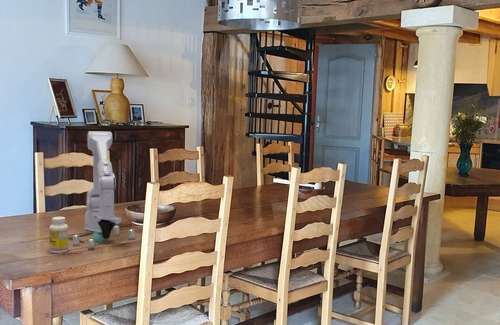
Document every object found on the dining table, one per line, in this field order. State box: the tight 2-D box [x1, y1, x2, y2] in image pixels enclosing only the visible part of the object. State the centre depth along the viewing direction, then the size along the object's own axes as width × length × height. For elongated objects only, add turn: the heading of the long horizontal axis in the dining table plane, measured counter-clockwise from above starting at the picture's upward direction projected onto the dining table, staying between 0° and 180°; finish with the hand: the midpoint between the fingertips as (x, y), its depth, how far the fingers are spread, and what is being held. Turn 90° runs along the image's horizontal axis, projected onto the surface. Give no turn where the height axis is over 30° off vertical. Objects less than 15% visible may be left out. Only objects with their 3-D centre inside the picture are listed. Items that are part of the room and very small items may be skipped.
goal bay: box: [68, 231, 95, 244], centre depth 222 cm, size 9×14×1 cm
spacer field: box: [72, 224, 135, 251], centre depth 217 cm, size 11×23×4 cm, turn 147°
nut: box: [92, 231, 108, 243], centre depth 218 cm, size 6×6×3 cm
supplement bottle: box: [48, 216, 69, 254], centre depth 201 cm, size 7×7×13 cm
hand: (106, 238), depth 216 cm, fingers closed
